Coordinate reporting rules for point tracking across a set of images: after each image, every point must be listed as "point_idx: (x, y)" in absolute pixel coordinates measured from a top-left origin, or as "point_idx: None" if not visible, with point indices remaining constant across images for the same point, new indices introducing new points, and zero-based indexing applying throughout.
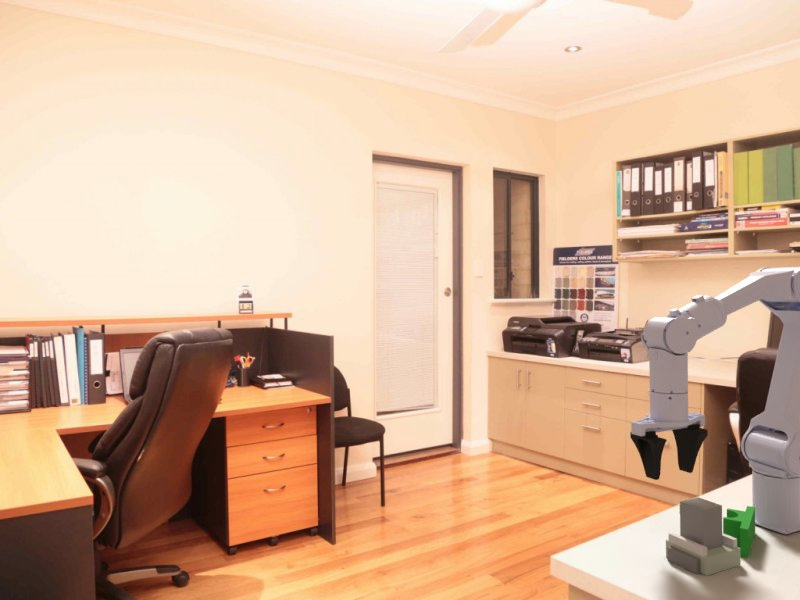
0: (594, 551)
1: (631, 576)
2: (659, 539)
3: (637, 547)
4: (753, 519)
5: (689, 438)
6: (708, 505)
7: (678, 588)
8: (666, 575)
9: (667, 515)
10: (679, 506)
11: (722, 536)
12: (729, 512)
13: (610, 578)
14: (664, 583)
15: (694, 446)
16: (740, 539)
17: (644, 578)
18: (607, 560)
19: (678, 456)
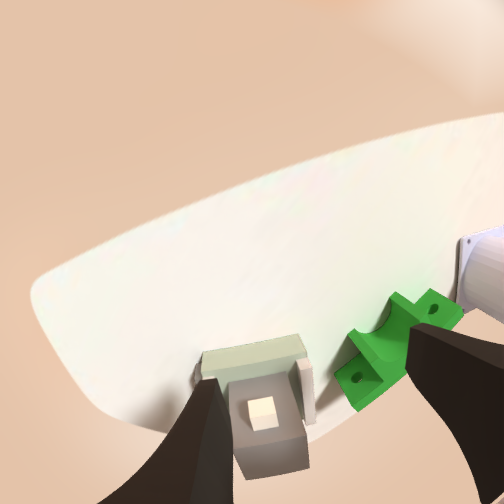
0: (80, 290)
1: (108, 383)
2: (246, 278)
3: (170, 301)
4: None
5: (489, 455)
6: (280, 468)
7: (159, 423)
8: (162, 398)
9: (366, 157)
10: (249, 414)
11: (304, 410)
12: (417, 322)
13: (77, 375)
14: (146, 411)
15: (463, 450)
16: (344, 392)
17: (124, 393)
18: (89, 329)
19: (448, 347)
